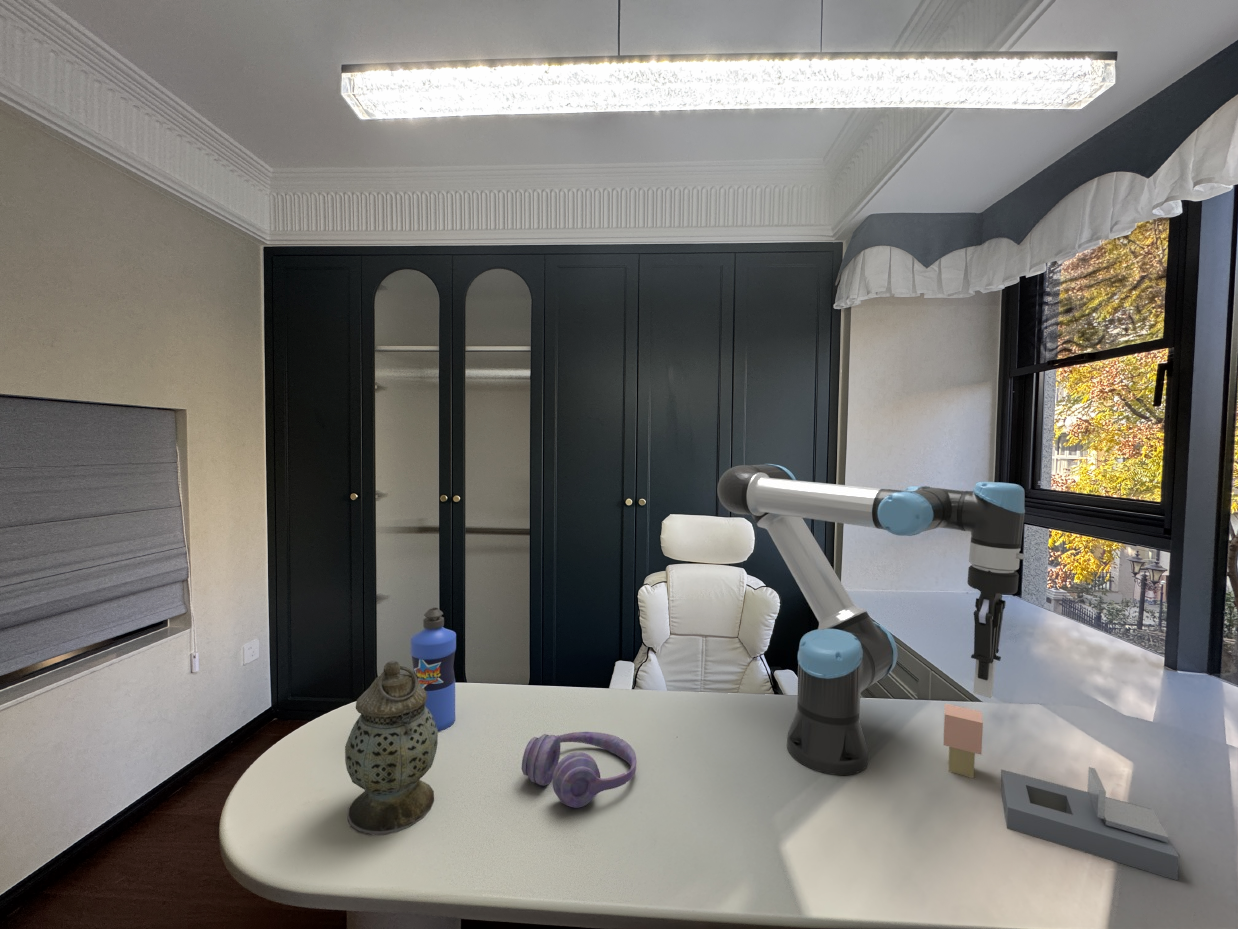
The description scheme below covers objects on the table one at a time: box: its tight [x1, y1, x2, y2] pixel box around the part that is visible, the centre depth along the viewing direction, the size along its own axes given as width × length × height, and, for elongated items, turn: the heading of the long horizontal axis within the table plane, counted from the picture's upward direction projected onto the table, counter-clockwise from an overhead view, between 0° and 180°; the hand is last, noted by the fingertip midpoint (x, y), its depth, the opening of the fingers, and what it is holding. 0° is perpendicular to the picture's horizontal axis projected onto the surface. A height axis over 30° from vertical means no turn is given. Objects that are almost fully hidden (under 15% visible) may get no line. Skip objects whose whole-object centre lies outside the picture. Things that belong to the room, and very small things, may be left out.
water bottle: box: [410, 607, 457, 733], centre depth 118 cm, size 9×9×25 cm
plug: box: [943, 703, 984, 779], centre depth 104 cm, size 6×5×11 cm
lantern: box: [344, 660, 439, 836], centre depth 91 cm, size 14×14×25 cm
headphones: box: [521, 731, 638, 809], centre depth 100 cm, size 18×8×20 cm
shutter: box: [1086, 766, 1169, 842], centre depth 85 cm, size 8×7×5 cm
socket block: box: [999, 769, 1180, 881], centre depth 88 cm, size 20×12×4 cm, turn 59°
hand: (982, 694), depth 100 cm, fingers closed
